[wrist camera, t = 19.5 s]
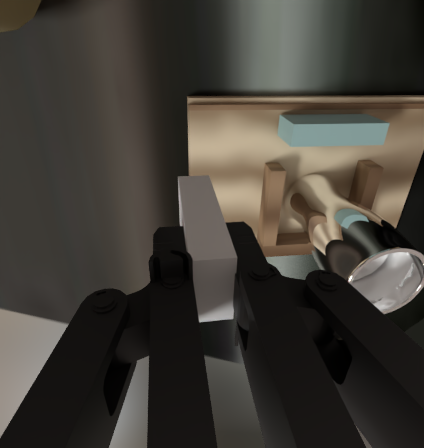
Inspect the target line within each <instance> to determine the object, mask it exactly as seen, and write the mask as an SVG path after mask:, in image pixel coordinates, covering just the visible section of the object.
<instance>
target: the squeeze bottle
mask: <svg viewBox="0 0 424 448" xmlns="http://www.w3.org/2000/svg"><path fill="white" fill-rule="evenodd" d="M40 2H41V0H0V32H5V31H12V30H18V29H19V28H20V27H22V26H23V25H24V24H26V23H27V22H28V21H29V20H31V19H32V18H33V17H34V16H35V14H36V11H37V9H38V7H39V5H40Z"/></svg>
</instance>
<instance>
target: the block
mask: <svg viewBox="0 0 424 448" xmlns="http://www.w3.org/2000/svg"><path fill="white" fill-rule="evenodd" d="M389 124H390V123H388V122H386V121H383V120H381V119H378V118H375V117H373V116H370V115H368V114H294V115H280V118H279V126H278V134H277V135H278V136H279V137H280V138H281V139H282V140H283V141H285V142H286V143H287V144H288V145H289V146H290V147H313V146H359V145H384V141H385V138H386V134H387V131H388V127H389Z"/></svg>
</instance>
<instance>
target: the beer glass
mask: <svg viewBox="0 0 424 448" xmlns="http://www.w3.org/2000/svg"><path fill="white" fill-rule="evenodd" d="M285 208H286V211H287V213H288V214H289V216H290V217H291V218H292V219H293V220H295V221H296V222H297V223H299V224H300V225H301V227H302V228H303V230H304V233H305V235H306V238H307V241H308V244H309V247H310V249H311V252H312V254H313V257H314V259H315V261H316V263H317V265H318V266H319V268H320V270H327V271H331V272H334V273H337V274H338V275H340V276H341V277H343V278H344V279H345V280H346V281H348V282H349V283H350V284H351V285H352V286H353V287H354V288H355V289H357V290H358V291H359V292H360V293H361V294H362V295H363V296H364V297H365V298H367V299H368V300H369V301H370V302H371V303H372V304H373V305H374V306H375V307H377V308H378V309H379V310H380V311H381V312H382V313H383V314H386V313H389V312H392V311H394V310H396V309H398V308H400V307H402V306H404V305H405V304H407V303H408V302H409V301H411V300H412V299H413V298H414V297H415V296H416V295H417V294H418V293H419V292H420V291H421V289H422V288H423V286H424V256H423V255H422V254H421V253H420V252H419V251H418V250H417V249H416V248H415V247H414V246H413V245H412V244H411V243H410V242H409V241H408V240H407V239H406V238H405V237H404V236H403V235H402V234H401V233H400V232H399V231H398V230H397V229H396V228H395V227H394V226H393V225H391V224H390V223H389V222H388V221H386V220H385V219H384V218H382V217H381V216H380V215H378V214H377V213H375V212H373V211H372V210H370V209H368V208H366V207H364V206H362V205H360V204H358V203H356V202H354V201H352V200H350V199H348V198H347V197H345V196H343V195H342V194H341V193H340V192H339V190H338V188H337V186H336V185H335V183H334V182H333V181H332V180H331V179H330V178H329V177H327V176H325V175H322V174H310V175H306V176H304V177H302V178H300V179H298V180H297V181H296V182H295V183H294V184H293V185H292V186H291V187H290V188H289V190H288V192H287V194H286V197H285Z"/></svg>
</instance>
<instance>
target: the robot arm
mask: <svg viewBox="0 0 424 448" xmlns="http://www.w3.org/2000/svg"><path fill="white" fill-rule="evenodd" d="M178 188H179V212H180V226H175V227H159V228H158V229H157V231H156V232H155V233H154V235H153V255H152V256H151V257H150V260H149V271H150V280H151V281H150V283H149V284H148V285H147V286H146V287H144V288H143V289H141V290H140V291H137V292H135V293H132V294H129V295H126V294H125V293H123V292H122V291H120V290H117V289H113V288H112V289H102V290H99V291H96V292H94V293H92V294H90V295H89V296H87V297H86V299H85V300H84V301H83V302H82V303H81V305H80V307H79V308H78V310H77V312H76V313H75V315H74V317H73V318H72V320H71V322H70V323H69V325H68V327H67V328H66V330H65V332H64V333H63V335H62V337H61V338H60V340H59V342H58V343H57V345H56V347H55V348H54V350H53V352H52V353H51V355H50V357H49V358H48V360H47V361H46V363H45V365H44V367H43V368H42V370H41V371H40V373H39V375H38V376H37V378H36V380H35V382H34V383H33V385H32V386H31V388H30V390H29V391H28V393H27V395H26V396H25V398H24V400H23V401H22V403H21V405H20V406H19V408H18V410H17V411H16V413H15V415H14V416H13V418H12V420H11V421H10V423H9V425H8V426H7V428H6V430H5V431H4V433H3V435H2V436H1V438H0V448H109V445H110V442H111V439H112V436H113V433H114V430H115V427H116V424H117V421H118V418H119V415H120V412H121V409H122V406H123V403H124V400H125V397H126V393H127V390H128V388H129V385H130V382H131V379H132V376H133V372H134V370H135V367H136V363H137V360H139V359H142V358H144V357H147V356H149V390H148V436H147V437H148V438H147V448H217V442H216V435H215V428H214V421H213V414H212V407H211V401H210V394H209V387H208V380H207V373H206V366H205V359H204V352H203V345H202V338H201V331H200V324H199V322H206V321H216V320H225V319H233V312H235V315H236V331H235V346H238V341H239V345H240V349H241V353H242V357H243V361H244V365H245V369H246V372H247V376H248V380H249V384H250V388H251V392H252V396H253V400H254V404H255V408H256V412H257V416H258V420H259V424H260V427H261V431H262V436H263V440H264V444H265V448H366V446H365V444H364V442H363V440H362V438H361V436H360V434H359V432H358V430H357V428H356V426H357V427H358V428H359V430H360V431H361V433H362V434H363V435H364V437H365V438H366V439H367V441H368V442H369V444H370V445H371V446H372V448H424V350H423V349H422V348H421V347H420V346H419V345H418V344H417V343H415V342H414V341H413V340H412V339H411V338H410V337H409V336H408V335H407V334H406V333H404V332H403V331H402V330H401V329H400V328H399V327H398V326H397V325H396V324H394V323H393V322H392V321H391V320H390V319H389V318H388V317H387V316H385V315H384V314H383V313H382V312H381V311H380V310H379V309H378V308H377V307H375V306H374V305H373V304H372V303H371V302H370V301H369V300H368V299H367V298H365V297H364V296H363V295H362V294H361V293H360V292H359V291H358V290H357V289H355V288H354V287H353V286H352V285H351V284H350V283H349V282H348V281H346V280H345V279H344V278H343V277H341V276H340V275H338V274H337V273H334V272H331V271H327V270H315V271H312V272H310V273H309V274H308V275H307V277H306V280H301V279H294V278H289V277H285V276H282V275H281V274H280V272H279V271H278V269H277V268H276V267H274V266H273V265H271V264H269V263H268V262H267V260H266V258H265V256H264V254H263V252H262V249H261V247H260V245H259V243H258V241H257V239H256V237H255V234H254V232H253V230H252V228H251V227H250V226H249V225H247V224H246V223H245V222H244V221H243V222H226V223H225V220H224V217H223V214H222V211H221V208H220V206H219V203H218V200H217V197H216V194H215V191H214V188H213V185H212V182H211V179H210V177H209V175H205V176H181V177H178ZM354 423H355V424H354ZM355 425H356V426H355Z"/></svg>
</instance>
